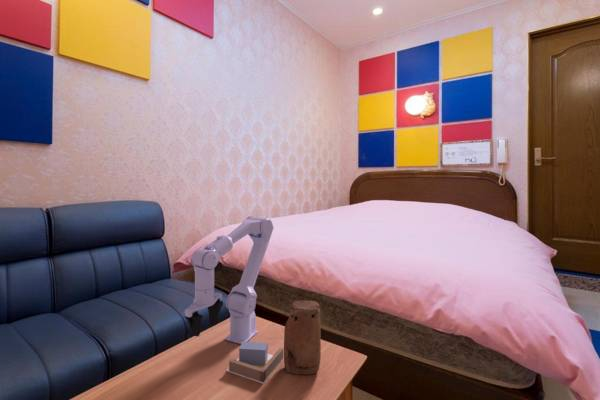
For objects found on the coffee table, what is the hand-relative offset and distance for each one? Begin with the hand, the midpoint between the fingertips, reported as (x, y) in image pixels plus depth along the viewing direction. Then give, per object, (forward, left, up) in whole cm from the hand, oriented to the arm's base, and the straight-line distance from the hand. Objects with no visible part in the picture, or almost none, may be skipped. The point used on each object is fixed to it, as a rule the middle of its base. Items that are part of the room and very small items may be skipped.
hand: (204, 329), depth 90 cm
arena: (-4, +16, -9) cm, 19 cm away
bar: (-4, +15, -9) cm, 18 cm away
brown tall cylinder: (-8, +30, -10) cm, 32 cm away
